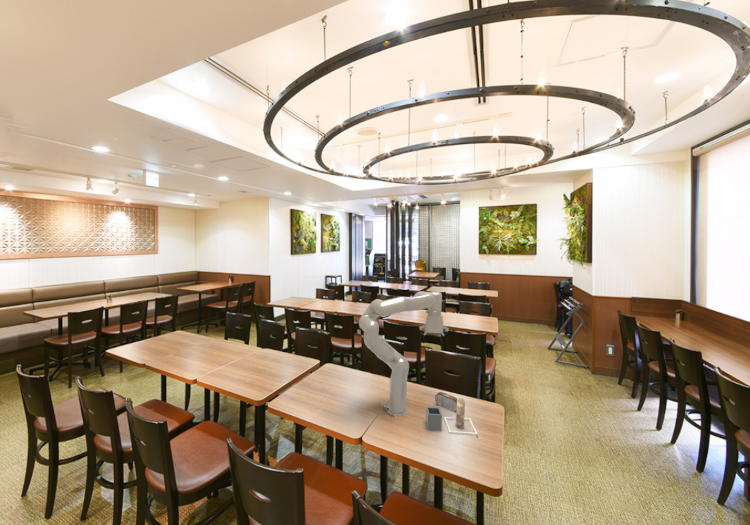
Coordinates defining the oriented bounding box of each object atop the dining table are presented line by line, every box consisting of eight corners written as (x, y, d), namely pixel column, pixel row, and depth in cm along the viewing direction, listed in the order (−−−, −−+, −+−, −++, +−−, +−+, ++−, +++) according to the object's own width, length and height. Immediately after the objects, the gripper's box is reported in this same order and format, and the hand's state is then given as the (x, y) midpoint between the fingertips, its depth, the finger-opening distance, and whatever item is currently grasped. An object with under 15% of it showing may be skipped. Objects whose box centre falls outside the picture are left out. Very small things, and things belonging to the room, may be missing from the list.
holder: (427, 431, 144) (428, 414, 144) (425, 423, 151) (426, 406, 151) (441, 432, 144) (442, 415, 144) (438, 424, 151) (439, 407, 151)
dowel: (456, 428, 146) (458, 402, 146) (455, 424, 150) (456, 398, 150) (464, 429, 146) (466, 402, 145) (462, 424, 150) (463, 398, 149)
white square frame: (449, 435, 142) (449, 432, 142) (443, 420, 155) (444, 416, 155) (477, 437, 141) (477, 433, 141) (469, 421, 154) (470, 418, 154)
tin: (460, 413, 162) (460, 398, 162) (457, 415, 160) (458, 400, 160) (436, 403, 172) (437, 389, 172) (434, 405, 170) (434, 391, 170)
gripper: (420, 313, 164) (419, 343, 165) (450, 315, 163) (449, 344, 164) (419, 311, 171) (417, 339, 172) (448, 312, 171) (446, 340, 171)
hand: (433, 341), depth 168 cm, fingers open, 9 cm apart
